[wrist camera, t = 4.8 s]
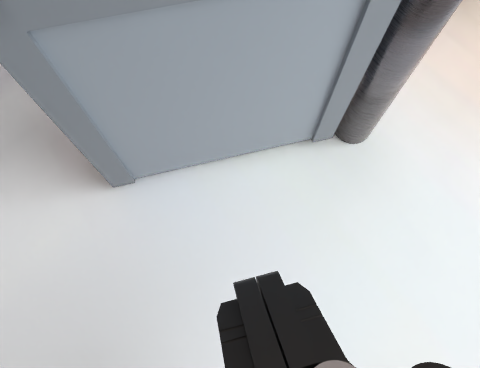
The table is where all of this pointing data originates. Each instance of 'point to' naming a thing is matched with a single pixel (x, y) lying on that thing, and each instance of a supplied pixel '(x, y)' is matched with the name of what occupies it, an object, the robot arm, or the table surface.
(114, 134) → the gate
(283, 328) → the robot arm
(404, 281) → the table surface
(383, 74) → the hinge post
